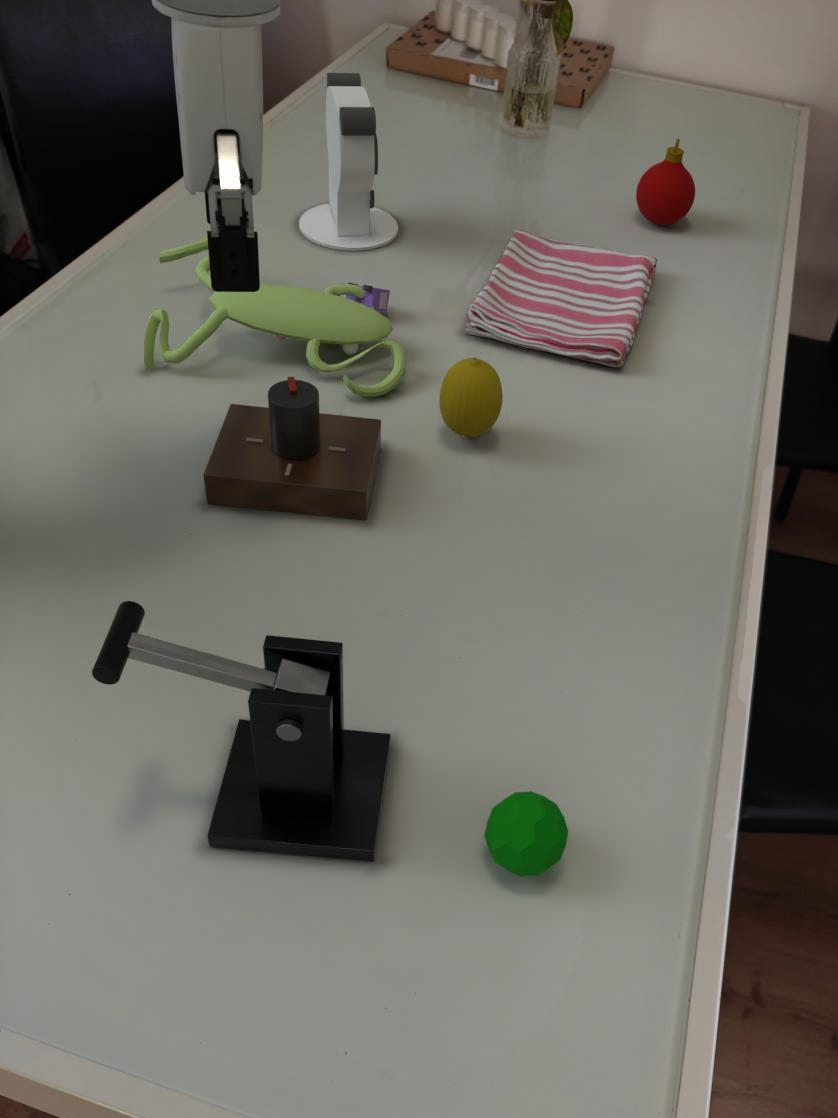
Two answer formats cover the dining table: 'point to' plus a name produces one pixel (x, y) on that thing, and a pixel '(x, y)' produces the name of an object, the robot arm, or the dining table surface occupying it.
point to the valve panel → (294, 466)
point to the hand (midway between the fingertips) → (232, 255)
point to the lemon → (470, 397)
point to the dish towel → (564, 299)
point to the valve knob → (294, 419)
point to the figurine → (289, 320)
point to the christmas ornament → (666, 189)
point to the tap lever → (194, 660)
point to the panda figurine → (349, 173)
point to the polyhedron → (526, 833)
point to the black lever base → (301, 768)
